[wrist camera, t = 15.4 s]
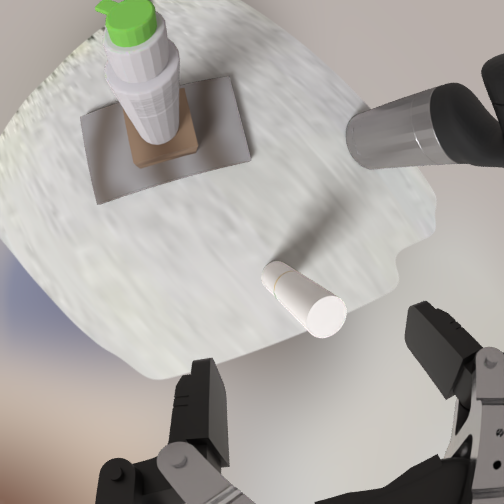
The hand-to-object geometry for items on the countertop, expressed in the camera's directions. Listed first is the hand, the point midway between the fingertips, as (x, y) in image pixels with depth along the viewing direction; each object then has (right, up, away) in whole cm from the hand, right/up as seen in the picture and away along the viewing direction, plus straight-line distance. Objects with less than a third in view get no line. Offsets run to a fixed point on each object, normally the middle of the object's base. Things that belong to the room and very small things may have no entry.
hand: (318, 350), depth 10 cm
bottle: (-12, +17, +16) cm, 27 cm away
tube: (+1, +1, +30) cm, 30 cm away
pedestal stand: (-14, +18, +22) cm, 32 cm away
